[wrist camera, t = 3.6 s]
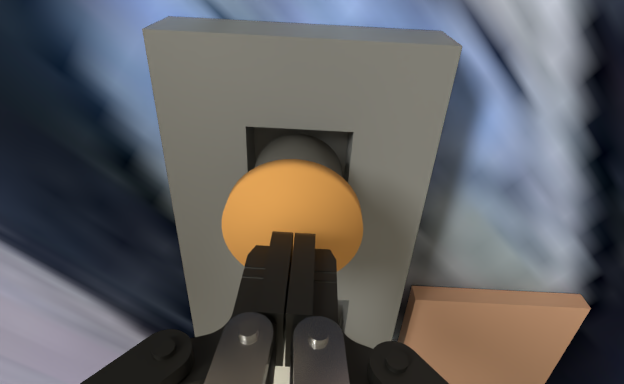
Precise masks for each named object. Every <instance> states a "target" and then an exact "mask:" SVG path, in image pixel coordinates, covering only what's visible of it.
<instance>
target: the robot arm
mask: <svg viewBox="0 0 624 384" xmlns="http://www.w3.org/2000/svg"><path fill="white" fill-rule="evenodd" d="M315 237H316V234H311V233H295V236H294V245H293V232H277V231H273V232H272V236H271V241H270V246H263V245H256V246H255V247H254V248H253V249H252V250H251V252H250V253H249V254H248V255H247V259H246V263H245V268H244V271H243V274H242V278H241V282H240V286H239V290H238V294H237V298H236V302H235V306H234V310H233V313H232V316H231V318H230V320H229V321H228V322H227V323H226V324H225V325H224V326H223V327H222V328H220V329H219V330H217V331H215V332H213V333H210V334H207V335H203V336H198V337H194V338H189V337H188V335H187V334H185V333H184V332H182V331H179V330H174V329H167V330H162V331H159V332H157V333H154V334H152V335H151V336H149V337H148V338H146V339H145V340H143V341H142V342H140V343H139V344H137V345H136V346H135V347H133V348H132V349H130V350H129V351H127V352H126V353H124V354H123V355H121V356H120V357H118V358H117V359H116V360H114V361H113V362H111V363H110V364H108V365H107V366H105V367H104V368H102V369H101V370H99V371H98V372H97V373H95V374H94V375H92V376H91V377H89V378H88V379H86V380H85V381H83V382H82V383H80V384H274V373H275V366H283V359H284V349H285V367H290V384H449V383H448V382H447V381H446V380H445V379H444V378H443V377H442V376H440V375H439V374H438V373H437V372H436V371H435V370H434V369H433V368H432V367H431V366H430V365H429V364H428V363H427V362H426V361H425V360H423V359H422V358H421V357H420V356H419V355H418V354H417V353H416V352H415V351H414V350H413V349H412V348H410V347H409V346H407V345H405V344H403V343H400V342H396V341H386V342H382V343H380V344H378V345H377V346H375V347H374V349H373V348H370V347H367V346H364V345H362V344H359V343H357V342H355V341H353V340H351V339H350V338H349V337H347V336H346V335H345V333H344V332H343V331H342V329H341V327H340V325H339V321H338V294H337V262H336V259H335V257H334V255H333V254H332V252H331V250H330V249H315Z"/></svg>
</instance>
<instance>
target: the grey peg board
mask: <svg viewBox="0 0 624 384" xmlns="http://www.w3.org/2000/svg"><path fill="white" fill-rule="evenodd" d="M142 30H143V36H144V42H145V48H146V54H147V59H148V65H149V71H150V77H151V83H152V88H153V94H154V100H155V106H156V112H157V118H158V123H159V129H160V135H161V141H162V147H163V153H164V158H165V164H166V170H167V176H168V182H169V187H170V193H171V199H172V205H173V211H174V217H175V222H176V228H177V234H178V240H179V246H180V252H181V257H182V263H183V269H184V275H185V281H186V286H187V292H188V298H189V304H190V310H191V316H192V321H193V327H194V333H195V337H198V336H203V335H207V334H210V333H213V332H215V331H217V330H219V329H220V328H222V327H223V326H224V325H225V324H226V323H227V322H228V321H229V320H230V318H231V316H232V313H233V310H234V306H235V302H236V298H237V294H238V290H239V286H240V282H241V278H242V274H243V271H244V268H245V266H243V265H242V264H241V263H240V262H239V261H238V260H237V259H236V258H235V257H234V256H233V254H232V253H231V252H230V250H229V249H228V247H227V245H226V243H225V240H224V237H223V233H222V215H223V211H224V208H225V205H226V203H227V200H228V197H229V194H230V192H231V190H232V189H233V187H234V186H235V184H236V183H237V181H238V180H239V179H240V178H241V177H242V176H243V175H245V174H246V173H247V172H249V171H250V170H252V169H254V167H255V164H256V161H257V158H258V156H259V154H260V152H261V151H262V150H263V148H264V147H265V146H266V145H267V144H269V143H270V142H271V141H273V140H275V139H276V138H279V137H281V136H285V135H289V134H305V135H310V136H313V137H316V138H318V139H320V140H322V141H323V142H325V143H326V144H328V145H329V146H330V147H331V148H332V149H333V150H334V152H335V153H336V155H337V156H338V158H339V161H340V164H341V168H342V178H344V179H345V180H346V181H347V182H348V184H349V185H350V186H351V187H352V189H353V190H354V192H355V193H356V196H357V198H358V200H359V203H360V207H361V213H362V220H363V237H362V241H361V244H360V247H359V249H358V251H357V253H356V254H355V256H354V257H353V258H352V260H351V261H350V262H349V263H348V264H347V265H346V266H345V267H343V268H342V269H340V270H339V271H338V272H337V294H338V321H339V325H340V327H341V329H342V331H343V332H344V333H345V335H346V336H347V337H349V338H350V339H351V340H353V341H355V342H357V343H359V344H362V345H364V346H367V347H370V348H373V349H374V347H375V346H377V345H378V344H380V343H382V342H386V341H392V337H393V333H394V329H395V325H396V320H397V316H398V312H399V308H400V304H401V299H402V295H403V291H404V287H405V283H406V279H407V274H408V270H409V266H410V262H411V258H412V254H413V249H414V245H415V241H416V237H417V233H418V229H419V224H420V220H421V216H422V212H423V208H424V204H425V199H426V195H427V191H428V187H429V183H430V178H431V174H432V170H433V166H434V162H435V158H436V153H437V149H438V145H439V141H440V137H441V133H442V128H443V124H444V120H445V116H446V112H447V108H448V103H449V99H450V95H451V91H452V87H453V83H454V78H455V74H456V70H457V66H458V62H459V57H460V53H461V49H462V46H461V45H460V44H459V43H457V42H456V41H455V40H453V39H452V38H451V37H449V36H448V35H447V34H445V33H444V32H443V31H432V30H414V29H395V28H377V27H358V26H340V25H321V24H303V23H284V22H266V21H247V20H229V19H210V18H192V17H173V16H168V17H166V18H164V19H162V20H160V21H158V22H156V23H154V24H152V25H149V26H147V27H145V28H143V29H142Z"/></svg>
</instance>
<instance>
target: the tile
mask: <svg viewBox="0 0 624 384" xmlns="http://www.w3.org/2000/svg"><path fill="white" fill-rule="evenodd" d="M590 309H591V308H590V307H589V305H588V304H587V302H586V301H585V300H584V298H583V297H582V296H581V294H567V293H547V292H527V291H508V290H488V289H468V288H448V287H428V286H412V287H411V291H410V295H409V299H408V303H407V307H406V311H405V315H404V319H403V323H402V327H401V331H400V335H399V339H398V342H400V343H403V344H405V345H407V346H409V347H410V348H412V349H413V350H414V351H415V352H416V353H417V354H418V355H419V356H420V357H421V358H422V359H423V360H425V361H426V362H427V363H428V364H429V365H430V366H431V367H432V368H433V369H434V370H435V371H436V372H437V373H438V374H439V375H440V376H442V377H443V378H444V379H445V380H446V381H447V382H448V383H449V384H545V382H546V381H547V379H548V377H549V376H550V374H551V373H552V371H553V369H554V368H555V366H556V364H557V363H558V361H559V360H560V358H561V356H562V355H563V353H564V352H565V350H566V348H567V347H568V345H569V343H570V342H571V340H572V339H573V337H574V335H575V334H576V332H577V330H578V329H579V327H580V326H581V324H582V322H583V321H584V319H585V317H586V316H587V314H588V313H589V311H590Z"/></svg>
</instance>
